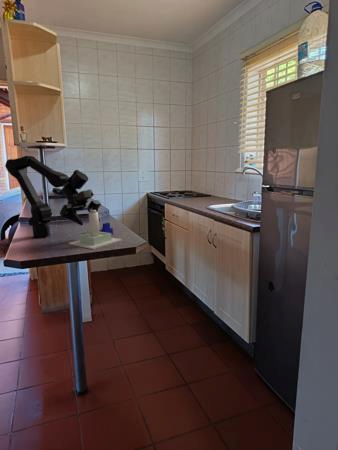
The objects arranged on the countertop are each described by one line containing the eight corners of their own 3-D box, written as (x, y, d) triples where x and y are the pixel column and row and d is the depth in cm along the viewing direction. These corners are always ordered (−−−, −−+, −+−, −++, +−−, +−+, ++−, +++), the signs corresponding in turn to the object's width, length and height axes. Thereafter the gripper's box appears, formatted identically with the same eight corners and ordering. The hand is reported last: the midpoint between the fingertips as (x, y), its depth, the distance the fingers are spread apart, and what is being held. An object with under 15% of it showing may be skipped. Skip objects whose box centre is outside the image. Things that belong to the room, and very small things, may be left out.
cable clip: (113, 234, 147) (112, 222, 146) (105, 236, 144) (104, 223, 143) (98, 231, 155) (97, 220, 154) (90, 233, 151) (89, 221, 150)
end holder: (68, 244, 130) (68, 236, 129) (97, 236, 143) (97, 229, 142) (93, 249, 121) (92, 240, 120) (122, 240, 133) (121, 232, 133)
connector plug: (87, 241, 131) (84, 210, 128) (96, 239, 135) (93, 209, 132) (95, 243, 128) (92, 211, 125) (103, 240, 132) (101, 209, 129)
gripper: (61, 185, 124) (80, 214, 119) (96, 182, 138) (115, 208, 134) (51, 203, 130) (70, 231, 125) (87, 198, 144) (104, 223, 140)
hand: (91, 223), depth 131 cm, fingers open, 9 cm apart
